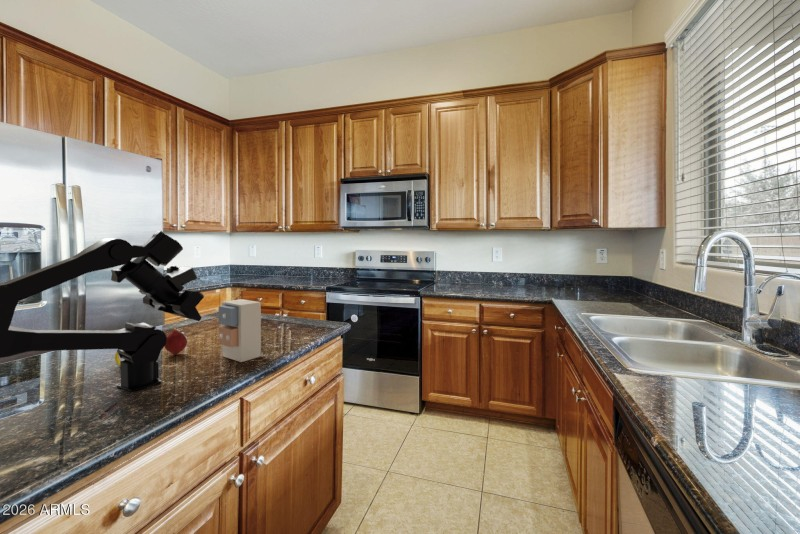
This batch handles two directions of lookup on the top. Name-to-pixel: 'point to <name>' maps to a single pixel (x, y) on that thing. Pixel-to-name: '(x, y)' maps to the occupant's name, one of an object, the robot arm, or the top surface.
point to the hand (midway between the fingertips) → (196, 318)
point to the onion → (175, 342)
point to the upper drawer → (228, 315)
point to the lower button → (228, 336)
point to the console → (245, 331)
